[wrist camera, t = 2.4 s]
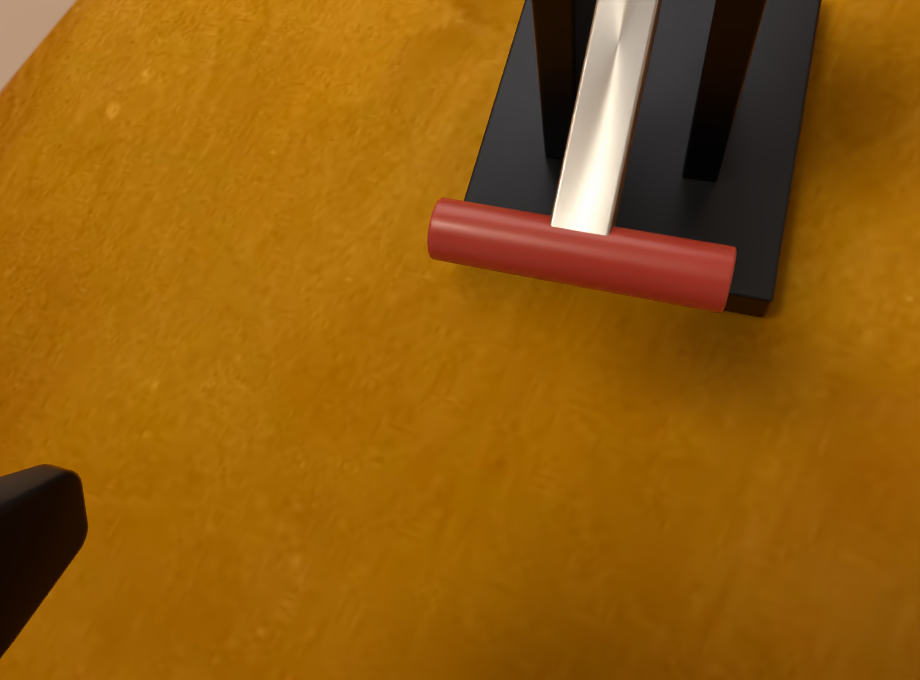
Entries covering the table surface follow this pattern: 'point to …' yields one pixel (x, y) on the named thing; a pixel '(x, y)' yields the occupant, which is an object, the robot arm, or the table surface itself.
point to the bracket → (669, 125)
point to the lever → (593, 193)
